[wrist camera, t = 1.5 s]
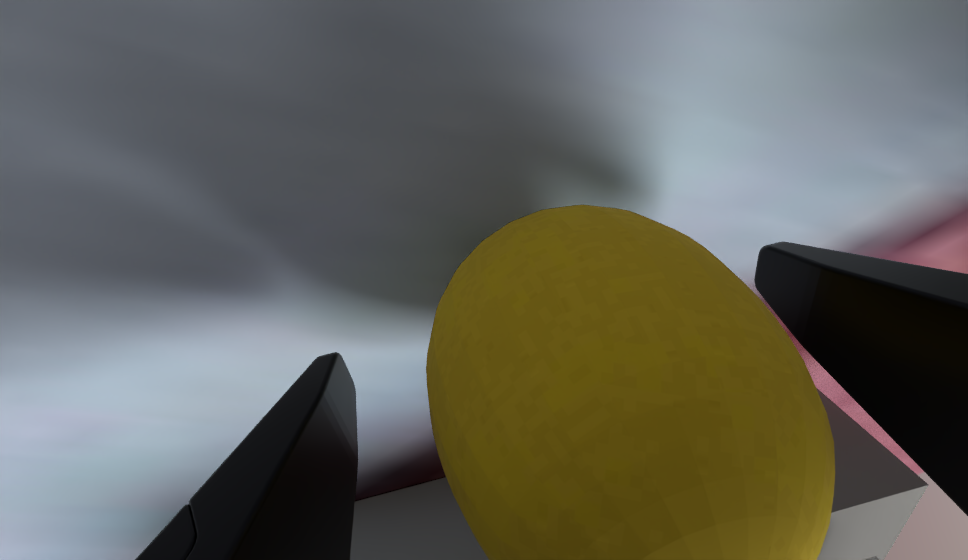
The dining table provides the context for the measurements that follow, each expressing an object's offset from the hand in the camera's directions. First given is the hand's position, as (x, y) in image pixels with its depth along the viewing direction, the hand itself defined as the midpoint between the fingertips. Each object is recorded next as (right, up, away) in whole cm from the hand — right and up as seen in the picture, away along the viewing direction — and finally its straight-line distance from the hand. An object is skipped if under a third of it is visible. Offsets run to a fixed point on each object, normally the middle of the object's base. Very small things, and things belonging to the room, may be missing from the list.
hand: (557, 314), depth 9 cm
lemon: (0, +1, +2) cm, 2 cm away
